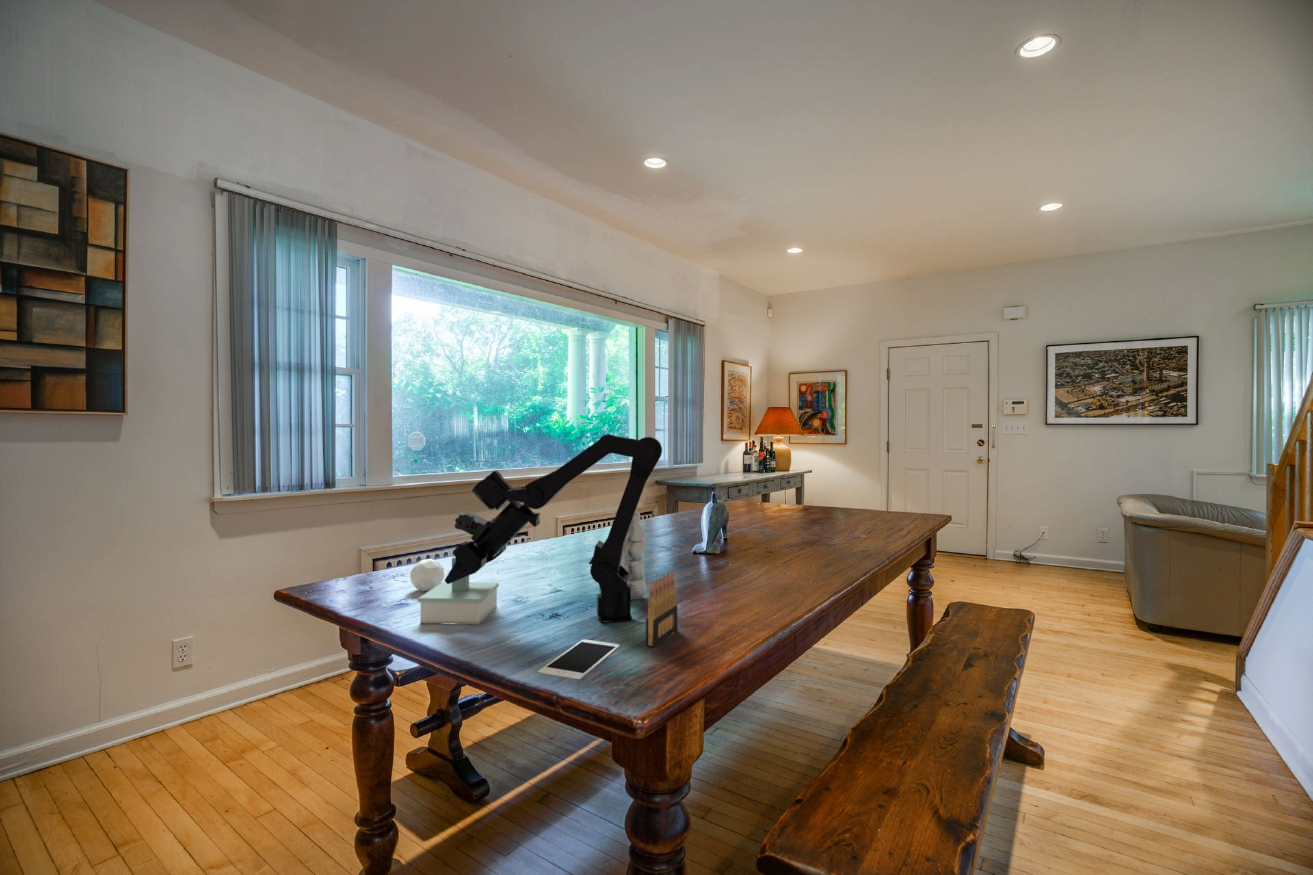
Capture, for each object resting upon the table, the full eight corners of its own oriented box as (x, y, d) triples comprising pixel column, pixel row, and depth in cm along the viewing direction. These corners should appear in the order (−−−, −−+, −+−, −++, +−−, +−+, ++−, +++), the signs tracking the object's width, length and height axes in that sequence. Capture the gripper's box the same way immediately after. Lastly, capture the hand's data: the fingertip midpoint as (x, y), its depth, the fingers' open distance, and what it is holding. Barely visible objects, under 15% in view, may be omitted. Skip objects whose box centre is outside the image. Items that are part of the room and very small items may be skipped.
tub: (496, 607, 131) (496, 586, 131) (479, 624, 119) (479, 602, 119) (443, 606, 131) (443, 586, 131) (420, 623, 119) (420, 601, 119)
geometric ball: (435, 599, 146) (456, 572, 147) (417, 596, 139) (438, 568, 140) (416, 581, 149) (436, 555, 150) (397, 577, 141) (418, 549, 143)
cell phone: (536, 675, 96) (536, 671, 96) (583, 642, 111) (583, 638, 111) (579, 682, 93) (579, 678, 93) (620, 647, 108) (620, 644, 108)
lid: (498, 591, 131) (498, 551, 131) (480, 607, 119) (480, 564, 119) (442, 590, 132) (442, 551, 131) (418, 607, 119) (418, 563, 119)
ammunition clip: (654, 648, 107) (654, 582, 107) (645, 646, 108) (645, 581, 108) (677, 630, 117) (678, 570, 116) (669, 629, 117) (669, 569, 117)
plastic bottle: (642, 603, 134) (643, 516, 134) (614, 601, 136) (614, 515, 136) (648, 595, 141) (649, 512, 141) (621, 594, 142) (622, 511, 142)
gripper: (492, 494, 134) (444, 541, 134) (463, 504, 115) (408, 559, 116) (526, 529, 134) (478, 576, 134) (503, 544, 115) (447, 600, 116)
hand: (454, 577), depth 125 cm, fingers open, 8 cm apart
